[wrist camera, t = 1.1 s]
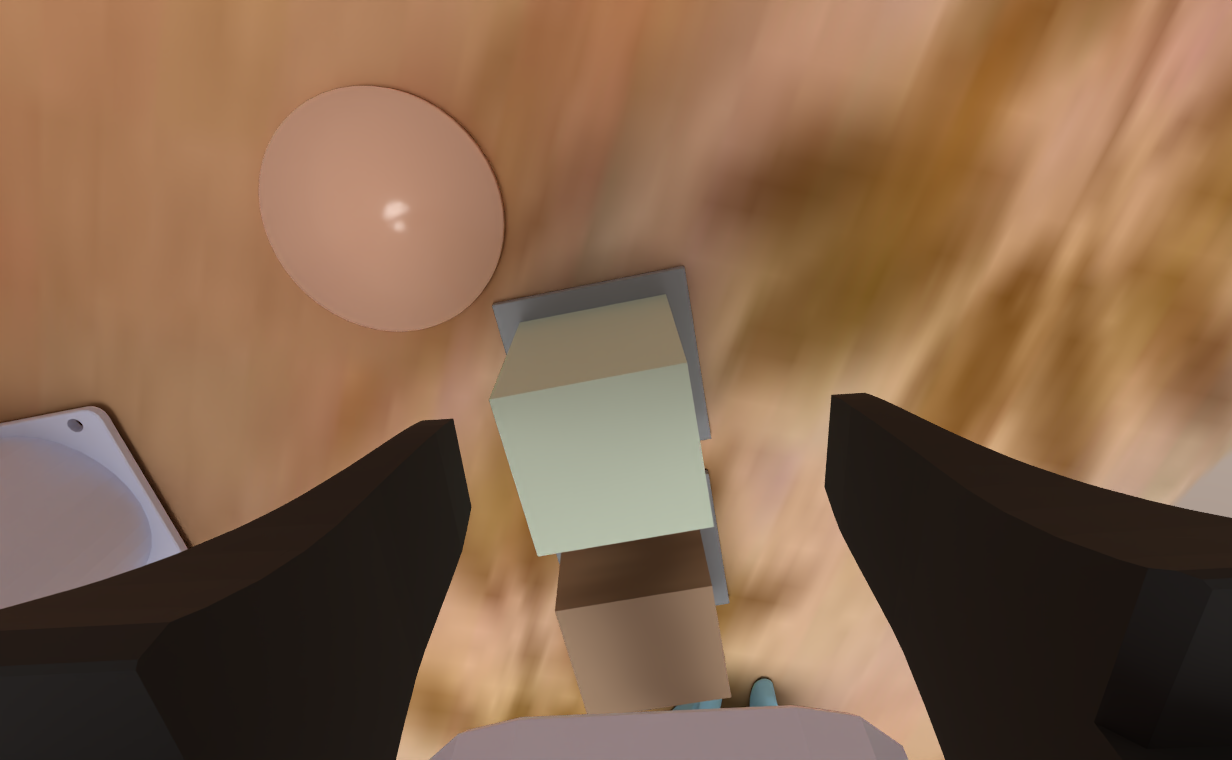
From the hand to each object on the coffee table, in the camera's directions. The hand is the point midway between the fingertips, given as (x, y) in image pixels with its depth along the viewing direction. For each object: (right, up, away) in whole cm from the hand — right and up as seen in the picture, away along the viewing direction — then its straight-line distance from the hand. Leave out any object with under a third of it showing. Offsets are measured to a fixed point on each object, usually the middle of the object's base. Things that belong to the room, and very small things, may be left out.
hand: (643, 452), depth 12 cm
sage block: (-1, +2, +10) cm, 10 cm away
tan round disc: (-8, +7, +8) cm, 13 cm away
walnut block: (0, -6, +13) cm, 14 cm away
